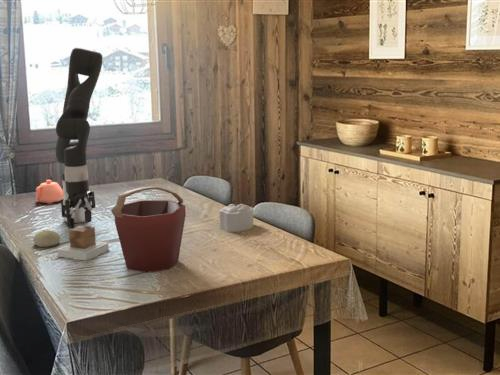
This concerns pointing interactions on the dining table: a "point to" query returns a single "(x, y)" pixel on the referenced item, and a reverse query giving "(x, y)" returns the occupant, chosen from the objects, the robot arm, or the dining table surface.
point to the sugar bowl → (49, 192)
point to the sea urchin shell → (46, 238)
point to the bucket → (149, 231)
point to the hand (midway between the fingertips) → (80, 225)
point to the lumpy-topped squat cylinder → (236, 218)
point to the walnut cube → (82, 237)
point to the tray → (83, 251)
